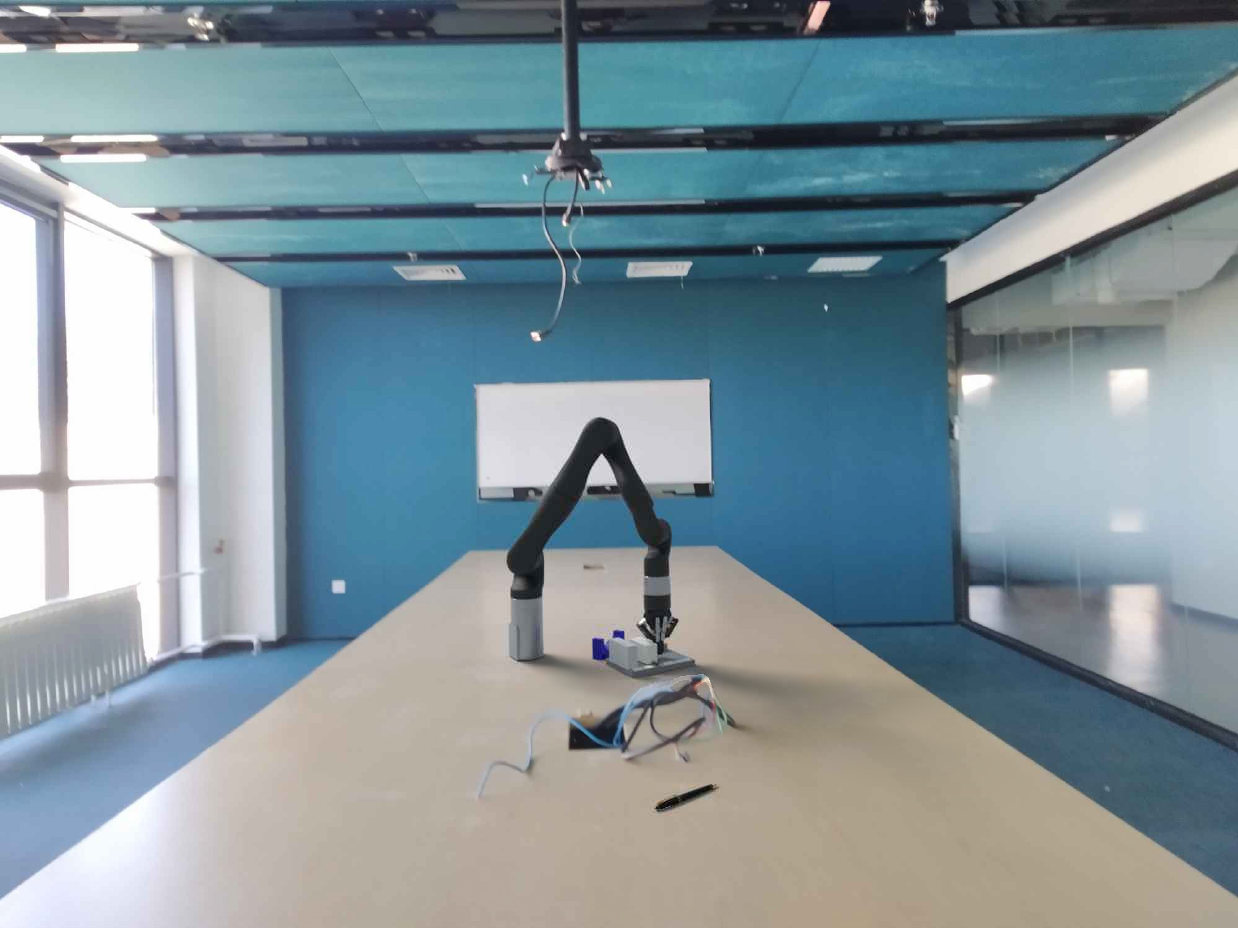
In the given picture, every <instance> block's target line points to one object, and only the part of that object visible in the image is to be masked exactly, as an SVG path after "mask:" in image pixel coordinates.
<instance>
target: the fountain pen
mask: <svg viewBox="0 0 1238 928" xmlns="http://www.w3.org/2000/svg"><path fill="white" fill-rule="evenodd" d="M717 785H719V784H718V783H714V784H712V783H709V784H707V785H705V786H704V785H703V786H701V787H698V788H695V789H693V790H690V791H687V792H685V793H683V794H679V795H678V794H677V795H676V794H672V795H670V796H668V797H666V798H664V799H661V800H660V801H658V802H656V805H655V807H654V810H655V809H658V810H657V811H660V810H659V809H662V810H664V809H663V808H665V809H667V808H666V807H668V808H670V807H669V806H671V807H673V806H672V805H674V806H676V805H678V803H679V804H682V803H683V802H685V801H688V800H690V799H692V797H693V798H694V797H697V796H699V795H701V793H702V794H704V793H706V792H708V790H709V791H711V790H713V789H714V787H717ZM712 788H713V789H712ZM710 789H711V790H710ZM696 795H697V796H696ZM689 798H690V799H689ZM687 799H688V800H687ZM682 801H683V802H682ZM675 804H676V805H675Z"/></svg>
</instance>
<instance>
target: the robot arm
mask: <svg viewBox="0 0 1238 928" xmlns="http://www.w3.org/2000/svg"><path fill="white" fill-rule="evenodd" d="M600 456H603V457H604V459H605V461H606V462H607V463H608V465H609V467H610V469H611V472H612V473H613V475H614V478H615V481H616V485H617V487H618V490H619V493H620V495H621V497H622V499H623V500H624V502H625V503H624V504H626V507H627V508H628V510H629V511H630V513H631V517H632V520H633V523H634V526H635V529H636V532H637V534H638V536H639V538H640V539H641V541H642V542H643V543H644V544H645V545H647V553H646V554H645V556H644V559H643V584H642V585H643V587H642V588H643V591H642V592H643V609H644V613H643V615H642V617H643V618H642V619H641V621H637V622H636V627H637V629H638V630H639V631H640V632H641V634H642V635H643V636H644V637H645V639H646V640H648V641H651V642H653V643H656V644H657V655H661V654H663V652H664V643H665V640H666V639H667V638H670V637H671V636H672V634H673V631H674V630H675V628H676V626H677V625H678V623H679V621H680V620H679V619H678V618H676V617H675V616H673V615H672V611H671V608H672V591H671V590H672V588H671V586H672V585H671V578H670V554H671V548H672V542H673V541H672V539H673V535H672V532H673V531H672V527H671V525H670V523H669V522H668V521H667V520H665V519H664V518H658V517H657V515H656V512H655V510H654V508H655V507H654V506H655V504H654V501H653V499H652V496H651V495H650V492H649V491H648V488H647V487H646V485H645V484H644V482H643V480H642V478H641V477H640V475H639V473H638V471H637V469H636V467H635V466H634V464H633V462H632V460H631V458H630V455H629V453H628V450H627V448H626V444H625V442H624V439H623V436H622V434H621V431H620V429H619V426H618V425H617V424H616V422H614V421H612V420H611V419H608V418H606V417H603V416H597V417H593V418H592V419H590V420H588V422H587V423H586V424H585V425H584V427H583V429H582V431H581V433H580V435H579V437H578V439H577V441H576V443H575V445H574V447H573V449H572V451H571V453H570V455H569V456H568V458H567V459H566V461H565V463H564V464H563V465H562V467H561V468H560V470H559V472H557V475H556V476H555V477H554V479H553V481H552V482H551V483H550V485H549V487H548V488H547V490H546V492H545V494H544V495H543V496H542V499H541V500H540V502H539V504H538V506H537V507H536V510H535V511H534V513H533V515H532V517H531V518H530V519H531V520H530V521H528V524H527V525H526V527H525V529H524V530H523V531H522V533H521V534H520V535H519V537H518V538H517V539H516V540H515V542H514V543H513V544H512V546H511V547H510V548H509V550H508V552H507V555H506V559H505V560H506V565H507V566H506V567H507V568H508V570H509V571H510V573H512V574H513V580H512V584H511V587H510V591H509V592H510V595H509V596H510V599H509V600H510V622H509V623H508V656H509V657H511V658H512V659H514V660H515V661H523V660H524V661H528V660H535V659H536V660H537V659H540V658H542V657H544V655H545V654H544V649H545V648H544V647H545V646H544V616H543V615H544V610H543V609H544V608H543V602H544V601H543V589H544V586H545V585H544V584H545V553H544V551H543V550H544V548H545V546H547V545H546V544H547V543H548V542H549V540H550V539H551V537H552V536H553V535H554V533H555V532H556V531H558V529H559V528H560V527H561V526H562V525H563V524H564V523H565V521H566V520H567V519H568V518H569V517H570V515H571V514H572V512H573V511H574V510H575V508H576V506H577V505H578V503H579V502H580V500H581V498H582V496H583V494H584V491H585V489H586V485H587V482H588V478H589V476H590V473H591V470H592V468H593V467H594V465H595V464H596V462H597V460H599V458H600ZM648 627H649V629H648Z"/></svg>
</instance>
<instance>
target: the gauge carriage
mask: <svg viewBox="0 0 1238 928" xmlns="http://www.w3.org/2000/svg"><path fill="white" fill-rule="evenodd" d="M628 640H629V641H628V642H631V643H633V644H635V645H637V654H638V661H640V662H642V663H644V664H646V665H647V664H655V665H659V663H657V644H656V643H653V642H652V641H651V640H649V639H647V638H643V637H641V636H638V637H631V638H629V639H628Z"/></svg>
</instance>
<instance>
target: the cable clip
mask: <svg viewBox="0 0 1238 928" xmlns="http://www.w3.org/2000/svg"><path fill="white" fill-rule="evenodd" d="M625 635H626V633H625V631H624V630H619V629H615V630H613V631H612V638H618V637H619V638H621V639H624V640H625V639H626V638H625ZM591 645H592V660H595V661H605V660H606V659H609V658H608V657H609V640H607V641H606V643H605V639H604V638H602V637H601V638H600V637H594V638H592V639H591Z"/></svg>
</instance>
